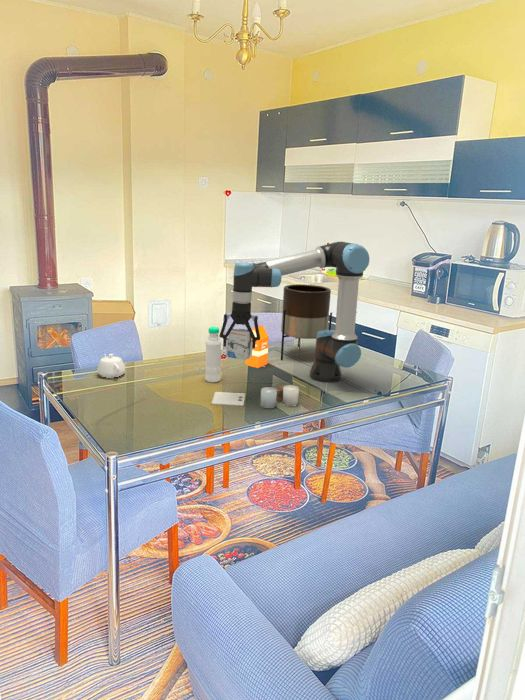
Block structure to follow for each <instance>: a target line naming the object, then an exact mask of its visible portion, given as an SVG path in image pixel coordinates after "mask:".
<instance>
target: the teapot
mask: <svg viewBox="0 0 525 700" xmlns="http://www.w3.org/2000/svg"><path fill="white" fill-rule="evenodd" d="M96 370H97V373H98V375H99V376H101V377H102V376H103V377H109V378H110V377H111V378H112V379H114V378H113V377H118V378H120V377H122V376H123V375H124V373H125V372H126V365H125V363H124V361H123V359H122V358H121V357H120V356H114V354H113V353H109V354H108V356H107V354H106V353H103V357H102V358H101V359H100V360H99V362H98V365H97V369H96ZM121 375H122V376H121ZM119 376H120V377H119ZM103 377H102V378H103Z"/></svg>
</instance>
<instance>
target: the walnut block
mask: <svg viewBox="0 0 525 700" xmlns="http://www.w3.org/2000/svg"><path fill="white" fill-rule="evenodd" d="M284 386H285V385H277V386H272V388H275V389H276V390H277V396H276V402H277V401H279V402H283V387H284Z"/></svg>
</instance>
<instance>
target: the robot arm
mask: <svg viewBox="0 0 525 700" xmlns="http://www.w3.org/2000/svg"><path fill="white" fill-rule="evenodd" d="M369 264H370V255H369V252H368V250H367V249H366V247H364V246H363V245H361V244H359V243H354V242H346V241H334V242H330V243H328V244H324V245H320V246H316V247H315V249H312V250H310V251H305V252H300V253H296V254H291V255H288V256H284V257H280V258H276V259H271V260H268V261H267V260H266V261H263V262H259V263H255V262H243V261H241V262H236V263H235V264H234V269H233V283H232V284H233V286H232V287H233V288H232V307H231V313H224V314H223V322H222V326H221V329H220V331H219V334H218V336H219V338H220V339H221V338H222V339H223V344H222V345H223V347H224V348H225V356H227V355H228V340H229V334H230V332H231V330H232V329H233V328H235V325H243V326H245V327H246V330H248V331H249V332H250V336H251V338H252V340H251V346H250V357H252V349H255V344H256V341H257V340H260V333H259V328H258V326H259V323H258V321H259V320H258V319H259V316H258V315H252V314H251V313H252V312H251V310H252V303H251V301H252V297H253V295H252V292H253V288H277V287H279V286H280V285H281V283H282V277H283V276H287V275H290V274H294V273H298V272H303V271H307V270H312V269H315V268H320V269H323V268H335V276H336V277H337V278H338V285H337V287H338V290H337V300H336V301H337V302H336V314H335V315H336V316H335V328H334V329H331V330H329V329H328V330H321V331H318V332H317V336H316V339H315V352H314V353H315V354H314V361H313V364H312V365H311V368H310V371H309V377H310V378H311V379H313V380H315V381H317V382H322V383H323V382H324V383H334V381H336V382H339V381H340V379H342V376H343V375H342V370H341V367H342V368H351V367H353V366H355V365H356V364H357V363H358V362H359V361H360V359H361V355H362V350H361V349H362V348H361V347H360V346H359V344H358V335H356V331H355V330H356V321H357V319H356V318H357V310H358V309H357V308H358V306H357V305H358V295H359V283H360V279H361V278H363V276H364V272H365V271H366V269H367V268H368V266H369ZM230 318H231V319H232V322H231V325H230V326H229V327H228V329H227V331H226V333H225V330H226V326H227V323H228V320H229V319H230ZM251 320H252V322H253V325H254V328H255V331H256V336H257V337H255V335H254V333H253V331H252V329H253V328H252V327H251V325H250V322H249V321H251ZM224 333H225V334H224ZM338 380H339V381H338Z"/></svg>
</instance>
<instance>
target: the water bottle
mask: <svg viewBox="0 0 525 700" xmlns="http://www.w3.org/2000/svg"><path fill="white" fill-rule="evenodd" d="M208 335H209V336H207V340H206V341H205V369H204V371H205V375H204V378H205V381H206V382H208V383H219V382H220V381H221V377H222V376H221V370H222V369H221V367H222V366H221V364H222V363H221V361H222V341H221V337H219V335H220V328H219V327H217V326H209V327H208Z"/></svg>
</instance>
